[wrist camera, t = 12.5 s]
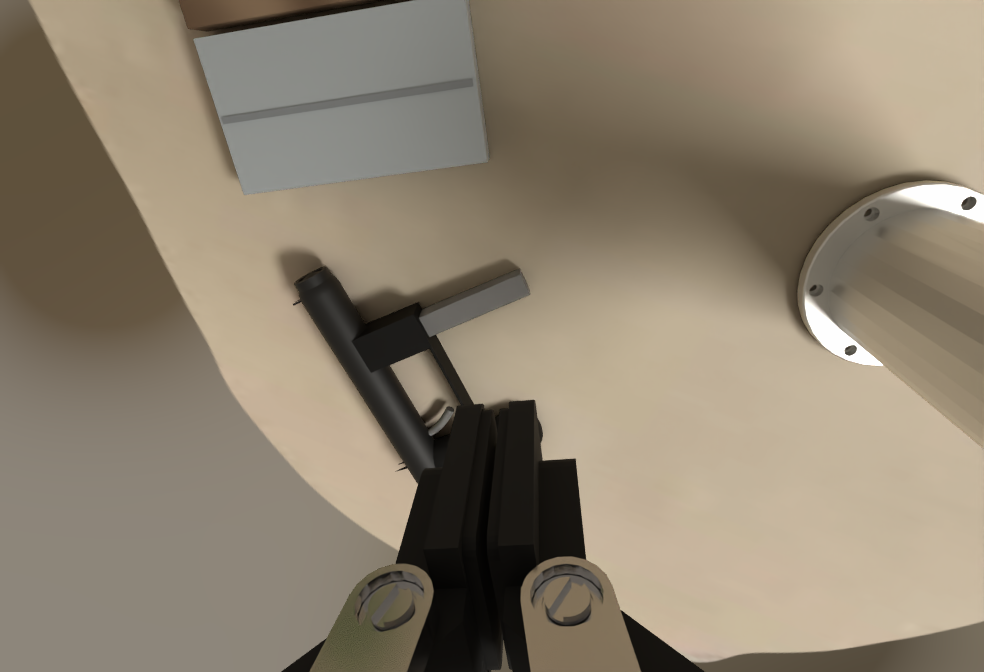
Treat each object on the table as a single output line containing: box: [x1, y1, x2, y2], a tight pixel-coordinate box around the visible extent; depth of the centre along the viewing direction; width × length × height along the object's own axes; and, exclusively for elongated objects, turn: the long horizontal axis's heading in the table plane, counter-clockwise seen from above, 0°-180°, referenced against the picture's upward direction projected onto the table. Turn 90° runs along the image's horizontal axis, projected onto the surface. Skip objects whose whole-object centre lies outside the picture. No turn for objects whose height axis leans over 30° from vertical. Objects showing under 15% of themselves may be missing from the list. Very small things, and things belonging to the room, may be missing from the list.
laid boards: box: [193, 0, 490, 195], centre depth 33 cm, size 16×9×2 cm, turn 98°
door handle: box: [293, 266, 543, 483], centre depth 41 cm, size 3×20×16 cm
